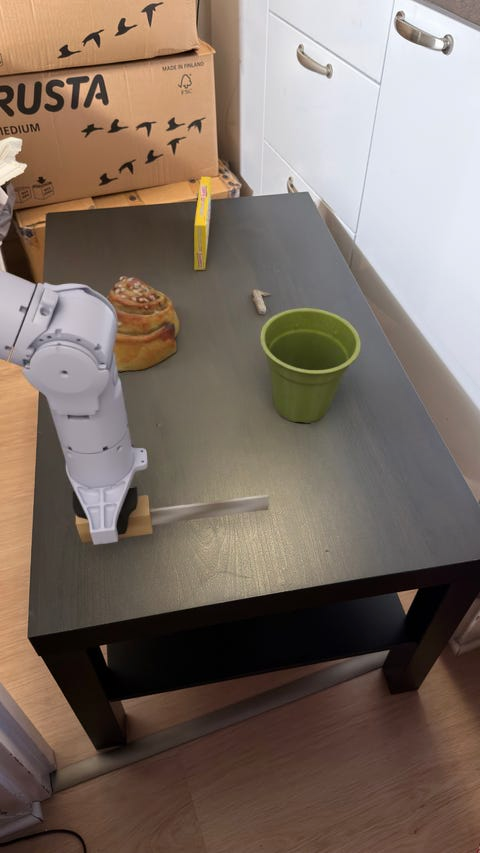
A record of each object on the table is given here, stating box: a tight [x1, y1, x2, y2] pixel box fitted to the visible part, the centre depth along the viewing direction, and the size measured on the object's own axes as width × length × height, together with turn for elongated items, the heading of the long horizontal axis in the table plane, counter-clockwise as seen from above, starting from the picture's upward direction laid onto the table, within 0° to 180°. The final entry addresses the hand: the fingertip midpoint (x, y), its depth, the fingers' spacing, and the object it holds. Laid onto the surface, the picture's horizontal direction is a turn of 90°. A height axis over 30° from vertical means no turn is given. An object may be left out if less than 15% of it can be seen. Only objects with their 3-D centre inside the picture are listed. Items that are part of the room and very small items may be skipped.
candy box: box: [193, 176, 212, 271], centre depth 104 cm, size 16×2×8 cm, turn 179°
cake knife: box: [75, 493, 270, 543], centre depth 62 cm, size 19×2×3 cm, turn 99°
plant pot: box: [259, 307, 362, 424], centre depth 78 cm, size 12×12×11 cm
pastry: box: [104, 276, 181, 373], centre depth 88 cm, size 13×15×8 cm
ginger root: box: [251, 289, 271, 315], centre depth 96 cm, size 6×1×3 cm
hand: (114, 519), depth 61 cm, fingers closed on cake knife, 2 cm apart
